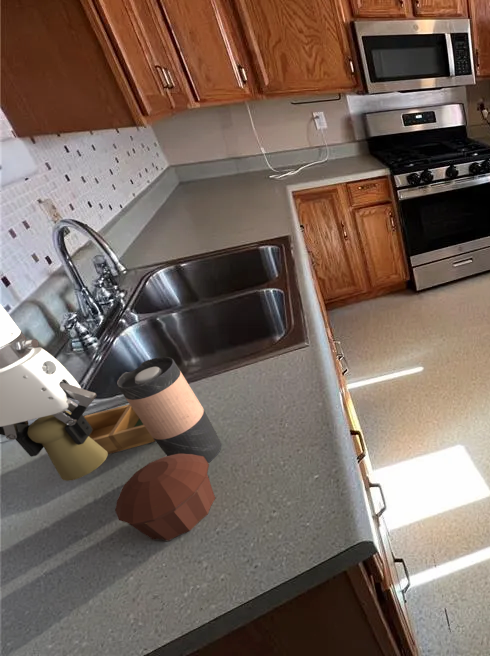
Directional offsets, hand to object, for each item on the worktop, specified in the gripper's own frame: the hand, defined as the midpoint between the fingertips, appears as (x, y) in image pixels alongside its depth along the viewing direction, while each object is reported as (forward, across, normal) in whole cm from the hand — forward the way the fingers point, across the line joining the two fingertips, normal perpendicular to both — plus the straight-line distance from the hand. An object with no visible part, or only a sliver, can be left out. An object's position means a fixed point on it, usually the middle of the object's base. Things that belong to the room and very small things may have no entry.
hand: (62, 442), depth 67 cm
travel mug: (+10, -16, 0) cm, 19 cm away
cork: (+6, 0, 0) cm, 6 cm away
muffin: (+10, -17, +12) cm, 23 cm away
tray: (+11, -1, -11) cm, 16 cm away
